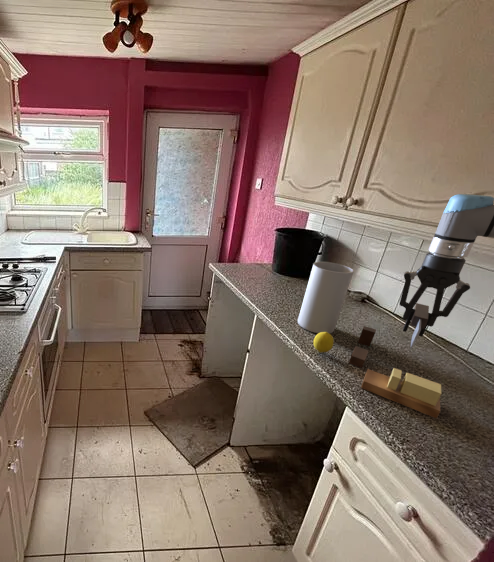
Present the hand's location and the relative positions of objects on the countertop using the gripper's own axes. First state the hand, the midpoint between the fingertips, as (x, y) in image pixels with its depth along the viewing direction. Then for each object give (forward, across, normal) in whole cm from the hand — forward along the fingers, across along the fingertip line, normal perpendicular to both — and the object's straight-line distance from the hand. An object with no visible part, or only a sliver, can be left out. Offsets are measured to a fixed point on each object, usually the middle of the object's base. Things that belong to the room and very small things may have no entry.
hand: (412, 332), depth 91 cm
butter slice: (+13, 0, -12) cm, 17 cm away
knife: (-1, 0, -4) cm, 4 cm away
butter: (+13, +5, -12) cm, 18 cm away
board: (+15, +2, -12) cm, 19 cm away
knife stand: (+15, -9, +6) cm, 19 cm away
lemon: (+15, -20, -4) cm, 25 cm away
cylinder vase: (+15, -26, +15) cm, 34 cm away
